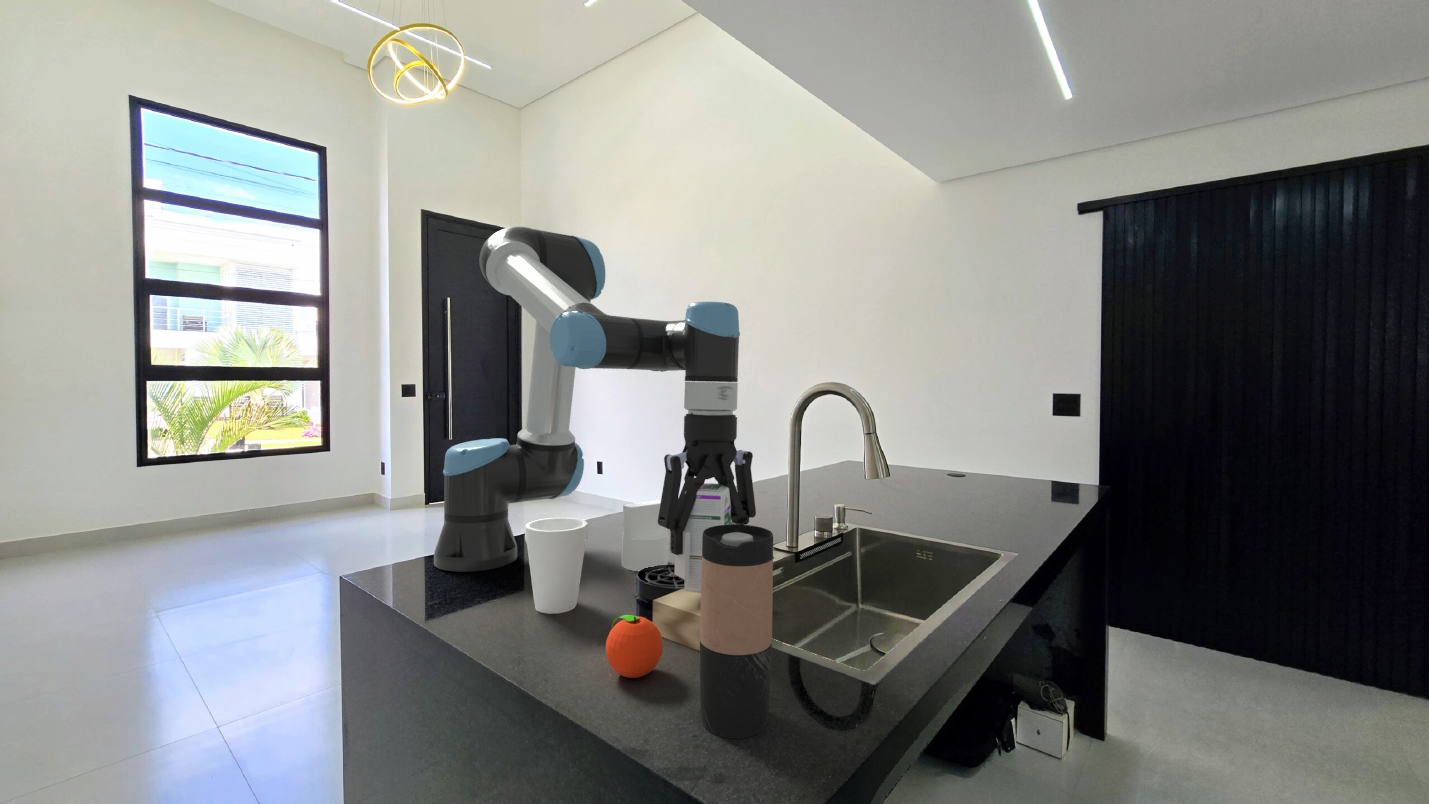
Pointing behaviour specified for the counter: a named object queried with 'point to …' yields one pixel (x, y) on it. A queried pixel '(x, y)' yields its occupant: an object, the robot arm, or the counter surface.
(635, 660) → the clementine
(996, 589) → the counter surface
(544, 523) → the foam cup
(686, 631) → the oak block
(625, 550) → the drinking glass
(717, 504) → the syrup box
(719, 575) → the travel mug
